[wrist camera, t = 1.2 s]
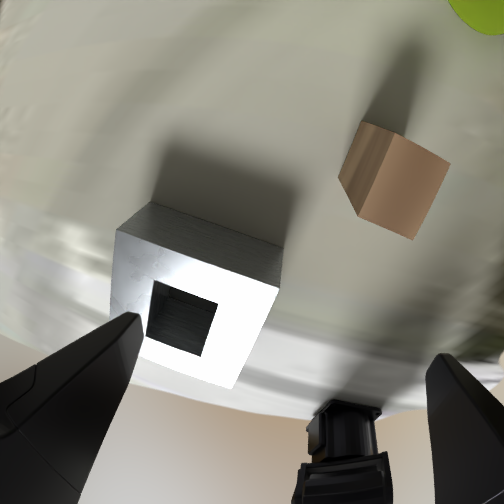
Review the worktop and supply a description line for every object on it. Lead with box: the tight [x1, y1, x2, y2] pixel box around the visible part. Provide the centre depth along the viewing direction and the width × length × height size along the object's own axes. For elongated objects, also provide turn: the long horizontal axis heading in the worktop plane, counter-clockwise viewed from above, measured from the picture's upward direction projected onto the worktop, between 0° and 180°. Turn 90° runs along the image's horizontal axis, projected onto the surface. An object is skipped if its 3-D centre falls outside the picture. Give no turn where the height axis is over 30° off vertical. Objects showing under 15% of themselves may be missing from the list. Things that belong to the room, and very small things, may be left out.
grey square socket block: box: [110, 202, 283, 389], centre depth 22 cm, size 10×10×5 cm
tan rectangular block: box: [338, 121, 450, 240], centre depth 15 cm, size 3×4×7 cm
